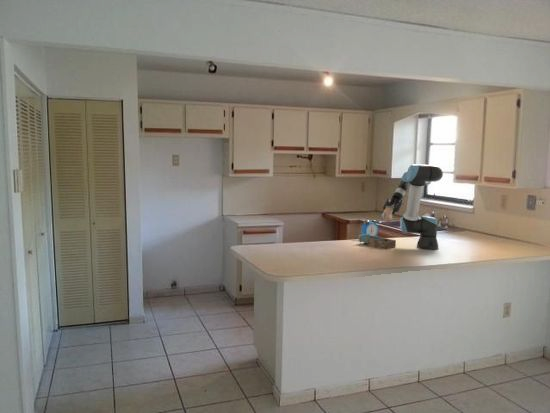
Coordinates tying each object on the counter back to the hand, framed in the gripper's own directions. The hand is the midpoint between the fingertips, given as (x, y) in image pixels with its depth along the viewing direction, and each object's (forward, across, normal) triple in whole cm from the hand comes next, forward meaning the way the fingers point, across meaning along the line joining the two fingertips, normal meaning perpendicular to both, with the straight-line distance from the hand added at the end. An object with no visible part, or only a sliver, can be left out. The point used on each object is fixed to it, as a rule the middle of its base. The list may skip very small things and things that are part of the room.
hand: (386, 217), depth 354 cm
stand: (+24, -6, -4) cm, 25 cm away
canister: (0, 0, -5) cm, 5 cm away
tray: (+23, +2, -3) cm, 23 cm away
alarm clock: (+9, +20, -20) cm, 29 cm away
